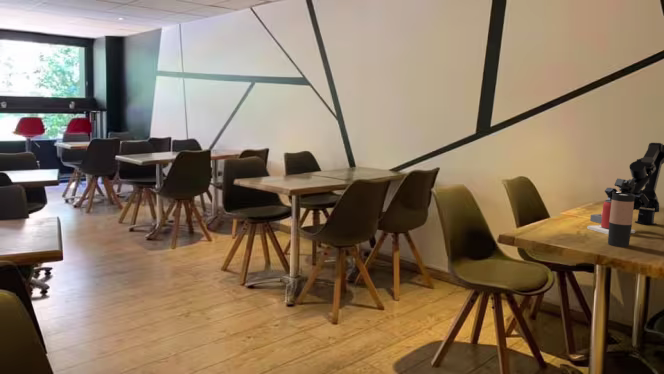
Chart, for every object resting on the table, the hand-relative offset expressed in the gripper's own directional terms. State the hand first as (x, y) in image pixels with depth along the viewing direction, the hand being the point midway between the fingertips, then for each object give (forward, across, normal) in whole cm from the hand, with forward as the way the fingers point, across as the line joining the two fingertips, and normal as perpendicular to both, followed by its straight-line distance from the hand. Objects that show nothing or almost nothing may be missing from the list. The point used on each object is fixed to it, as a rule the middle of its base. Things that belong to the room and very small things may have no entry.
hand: (614, 210), depth 220 cm
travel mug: (+20, +20, -8) cm, 29 cm away
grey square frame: (-2, -15, +14) cm, 21 cm away
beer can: (+7, 0, +4) cm, 8 cm away
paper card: (+7, 0, +5) cm, 9 cm away
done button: (-3, -15, +13) cm, 20 cm away
